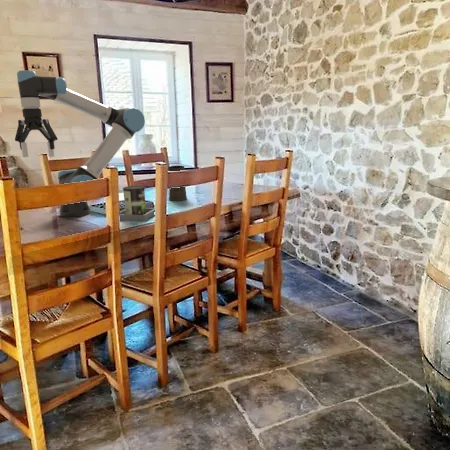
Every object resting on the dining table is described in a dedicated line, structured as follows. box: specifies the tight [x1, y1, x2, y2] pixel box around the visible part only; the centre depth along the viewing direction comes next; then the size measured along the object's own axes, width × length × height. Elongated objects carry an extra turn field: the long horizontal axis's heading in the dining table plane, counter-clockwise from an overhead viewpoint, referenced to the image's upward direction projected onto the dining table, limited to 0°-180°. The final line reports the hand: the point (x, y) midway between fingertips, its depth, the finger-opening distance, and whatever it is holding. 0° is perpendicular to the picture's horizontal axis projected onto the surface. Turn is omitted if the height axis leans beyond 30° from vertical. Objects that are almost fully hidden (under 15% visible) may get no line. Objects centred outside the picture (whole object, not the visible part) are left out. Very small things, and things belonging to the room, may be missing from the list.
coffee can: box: [122, 185, 147, 215], centre depth 194 cm, size 10×10×14 cm
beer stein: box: [167, 165, 188, 202], centre depth 236 cm, size 15×11×20 cm
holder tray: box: [119, 207, 156, 222], centre depth 195 cm, size 16×16×3 cm
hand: (38, 156), depth 178 cm, fingers open, 13 cm apart
